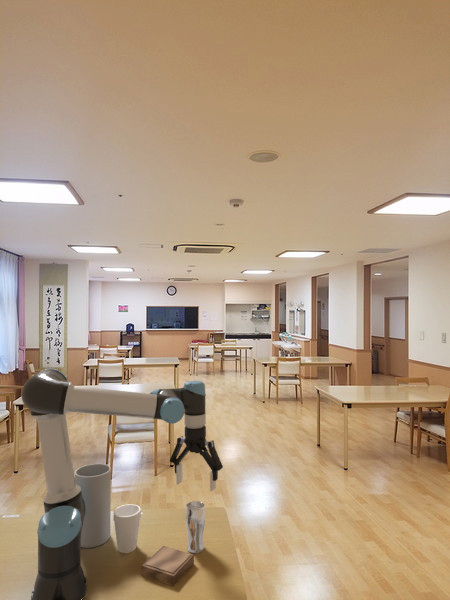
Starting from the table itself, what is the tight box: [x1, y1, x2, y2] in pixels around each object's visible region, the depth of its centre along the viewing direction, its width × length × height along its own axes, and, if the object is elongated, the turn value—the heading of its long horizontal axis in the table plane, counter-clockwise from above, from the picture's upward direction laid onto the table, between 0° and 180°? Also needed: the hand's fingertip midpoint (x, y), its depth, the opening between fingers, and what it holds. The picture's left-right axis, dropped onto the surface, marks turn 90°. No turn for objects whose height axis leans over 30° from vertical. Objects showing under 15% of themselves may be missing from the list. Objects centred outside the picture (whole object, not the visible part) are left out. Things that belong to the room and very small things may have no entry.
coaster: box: [141, 545, 195, 587], centre depth 132 cm, size 12×12×3 cm
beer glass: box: [184, 500, 206, 554], centre depth 144 cm, size 7×7×15 cm
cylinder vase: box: [74, 463, 112, 549], centre depth 150 cm, size 12×12×25 cm
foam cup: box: [113, 503, 142, 554], centre depth 144 cm, size 10×9×13 cm
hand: (195, 486), depth 144 cm, fingers open, 13 cm apart
